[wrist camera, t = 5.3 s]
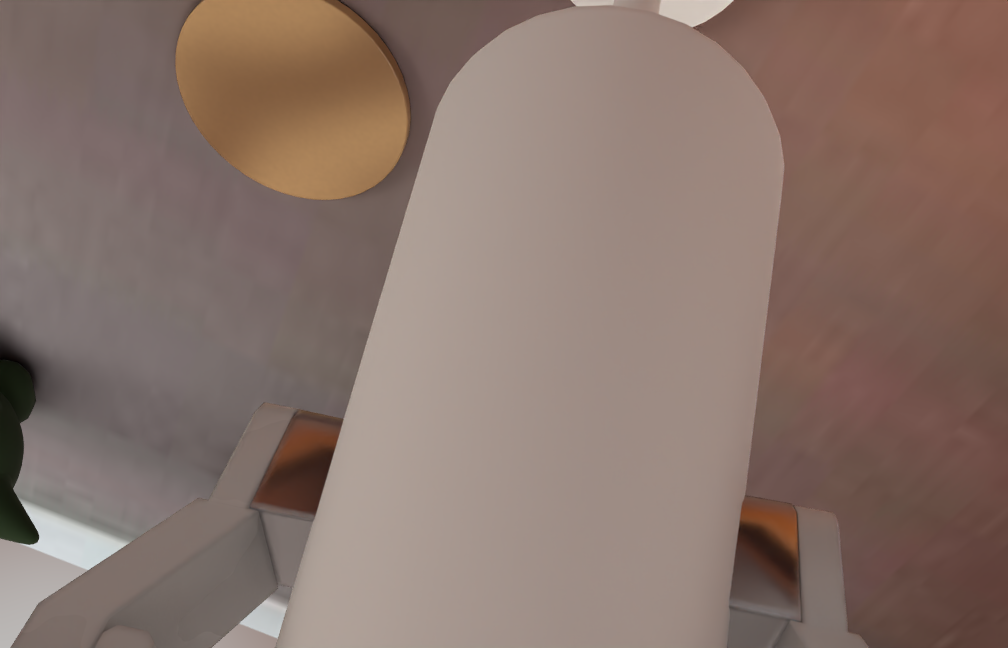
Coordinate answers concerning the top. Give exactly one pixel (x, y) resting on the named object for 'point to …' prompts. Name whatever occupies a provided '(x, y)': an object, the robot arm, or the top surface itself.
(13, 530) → the toy figurine
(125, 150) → the top surface
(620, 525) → the champagne flute
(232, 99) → the cork coaster
